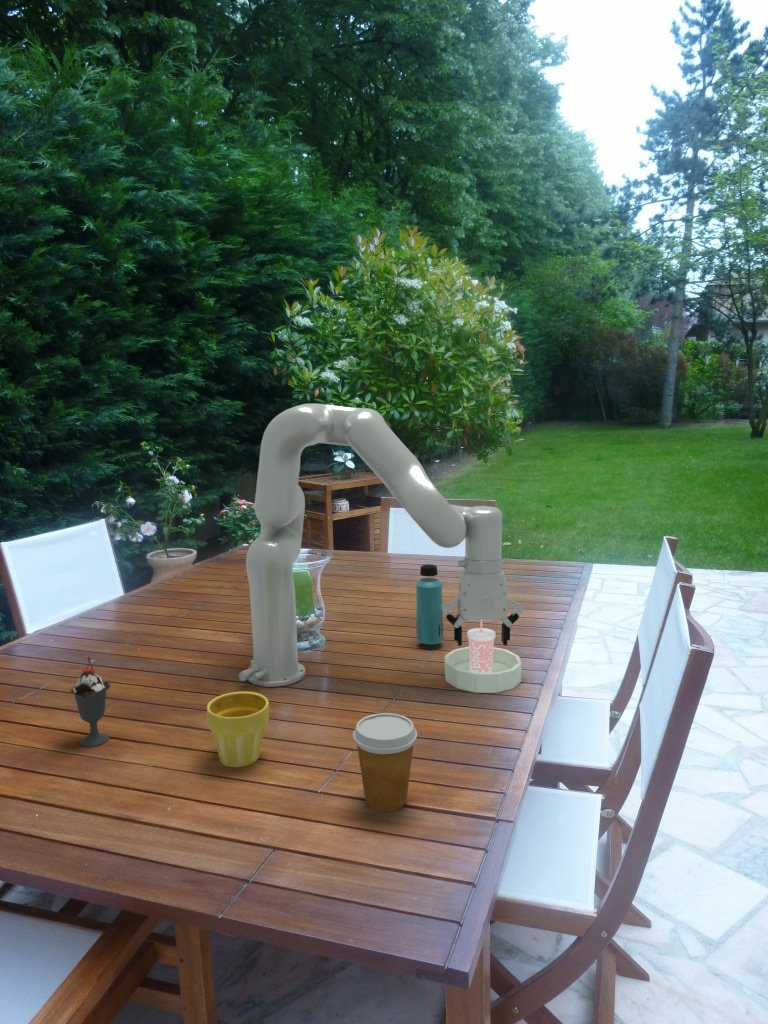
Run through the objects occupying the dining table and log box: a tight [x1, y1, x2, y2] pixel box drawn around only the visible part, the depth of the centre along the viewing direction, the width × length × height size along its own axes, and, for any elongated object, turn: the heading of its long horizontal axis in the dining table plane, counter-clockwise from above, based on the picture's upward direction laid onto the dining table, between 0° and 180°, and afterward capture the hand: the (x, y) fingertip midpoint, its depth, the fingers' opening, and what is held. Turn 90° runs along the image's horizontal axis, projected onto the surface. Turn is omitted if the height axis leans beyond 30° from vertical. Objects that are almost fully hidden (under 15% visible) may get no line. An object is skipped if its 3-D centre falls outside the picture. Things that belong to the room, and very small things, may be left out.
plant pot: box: [206, 691, 270, 768], centre depth 120 cm, size 10×10×10 cm
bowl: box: [444, 646, 523, 694], centre depth 153 cm, size 16×16×4 cm
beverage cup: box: [466, 621, 497, 673], centre depth 152 cm, size 6×6×14 cm
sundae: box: [69, 656, 111, 748], centre depth 126 cm, size 7×7×15 cm
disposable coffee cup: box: [352, 712, 418, 812], centre depth 107 cm, size 10×10×12 cm
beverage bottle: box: [415, 564, 444, 645], centre depth 170 cm, size 6×7×20 cm
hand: (481, 643), depth 152 cm, fingers open, 9 cm apart
